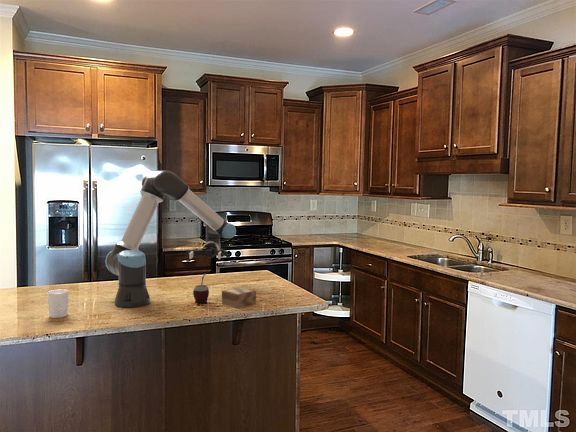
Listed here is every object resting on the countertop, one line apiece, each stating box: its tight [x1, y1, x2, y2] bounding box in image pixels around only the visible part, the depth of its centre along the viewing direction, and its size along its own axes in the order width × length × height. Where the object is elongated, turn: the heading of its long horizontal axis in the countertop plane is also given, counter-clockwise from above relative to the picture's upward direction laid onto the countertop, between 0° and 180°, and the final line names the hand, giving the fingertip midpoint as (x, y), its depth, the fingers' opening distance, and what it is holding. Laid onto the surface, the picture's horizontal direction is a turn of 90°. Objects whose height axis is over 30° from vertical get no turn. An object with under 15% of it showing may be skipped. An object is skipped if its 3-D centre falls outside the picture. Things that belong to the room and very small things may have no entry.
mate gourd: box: [192, 273, 210, 306], centre depth 211 cm, size 8×8×15 cm
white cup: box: [46, 289, 70, 319], centre depth 189 cm, size 8×8×10 cm
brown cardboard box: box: [221, 286, 257, 310], centre depth 212 cm, size 11×11×6 cm
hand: (204, 256), depth 219 cm, fingers open, 13 cm apart
